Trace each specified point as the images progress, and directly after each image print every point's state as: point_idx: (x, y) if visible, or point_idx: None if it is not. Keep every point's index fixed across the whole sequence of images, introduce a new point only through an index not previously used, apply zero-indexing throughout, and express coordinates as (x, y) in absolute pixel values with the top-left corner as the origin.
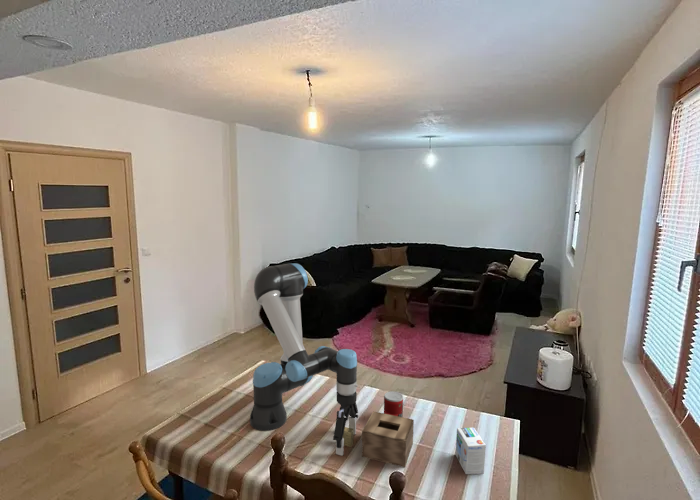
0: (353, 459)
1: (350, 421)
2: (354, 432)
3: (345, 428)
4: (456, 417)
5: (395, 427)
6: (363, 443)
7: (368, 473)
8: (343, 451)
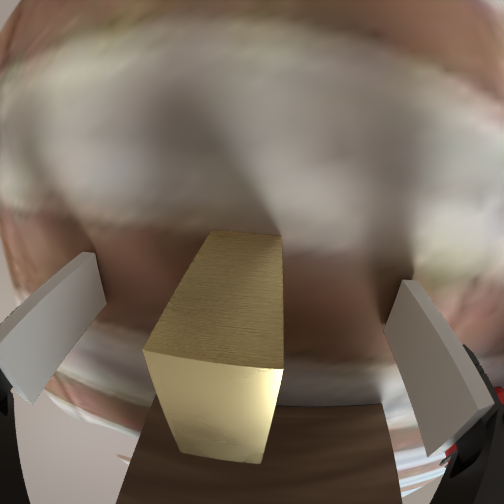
0: (114, 355)
1: (448, 389)
2: (390, 338)
3: (232, 421)
4: (432, 475)
5: None
6: (133, 464)
7: (91, 398)
8: (93, 318)
